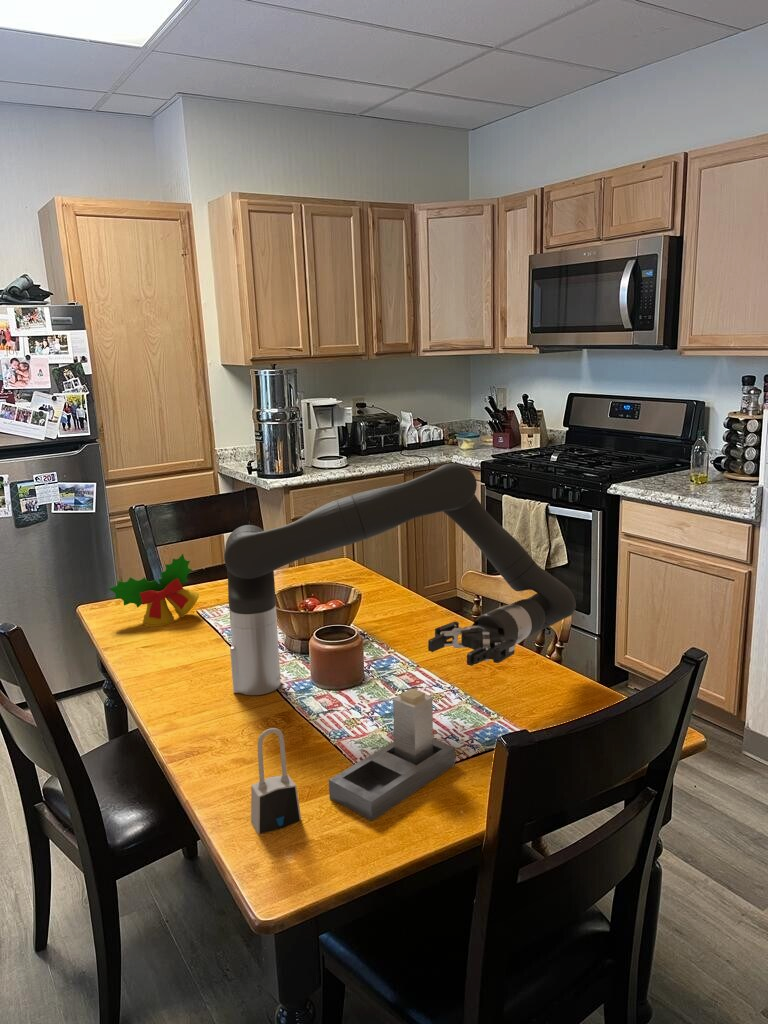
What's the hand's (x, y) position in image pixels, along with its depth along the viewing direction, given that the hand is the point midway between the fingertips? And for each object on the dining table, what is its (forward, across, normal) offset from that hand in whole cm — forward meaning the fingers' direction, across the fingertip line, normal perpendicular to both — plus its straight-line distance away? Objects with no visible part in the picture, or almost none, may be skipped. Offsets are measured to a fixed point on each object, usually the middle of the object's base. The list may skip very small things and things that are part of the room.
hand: (448, 653), depth 135 cm
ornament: (+2, -92, +18) cm, 93 cm away
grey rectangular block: (+12, +2, +16) cm, 19 cm away
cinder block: (+16, +2, +16) cm, 23 cm away
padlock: (+36, -4, +17) cm, 40 cm away
